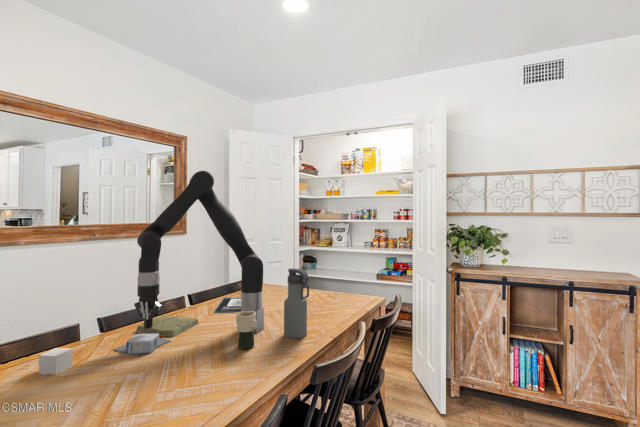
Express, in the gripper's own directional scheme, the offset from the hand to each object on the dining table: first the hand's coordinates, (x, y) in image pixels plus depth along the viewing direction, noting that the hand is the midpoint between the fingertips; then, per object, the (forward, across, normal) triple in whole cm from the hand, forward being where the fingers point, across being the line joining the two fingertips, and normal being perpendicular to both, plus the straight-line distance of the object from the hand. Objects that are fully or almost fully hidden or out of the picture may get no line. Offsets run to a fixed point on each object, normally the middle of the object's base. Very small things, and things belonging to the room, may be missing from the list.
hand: (148, 328), depth 126 cm
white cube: (+7, +11, +26) cm, 29 cm away
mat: (+7, +2, 0) cm, 8 cm away
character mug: (+7, -35, -14) cm, 39 cm away
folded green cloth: (+8, +10, -18) cm, 22 cm away
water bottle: (+7, -47, -34) cm, 58 cm away
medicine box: (+4, -5, +1) cm, 7 cm away
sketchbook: (+8, +4, -64) cm, 64 cm away
